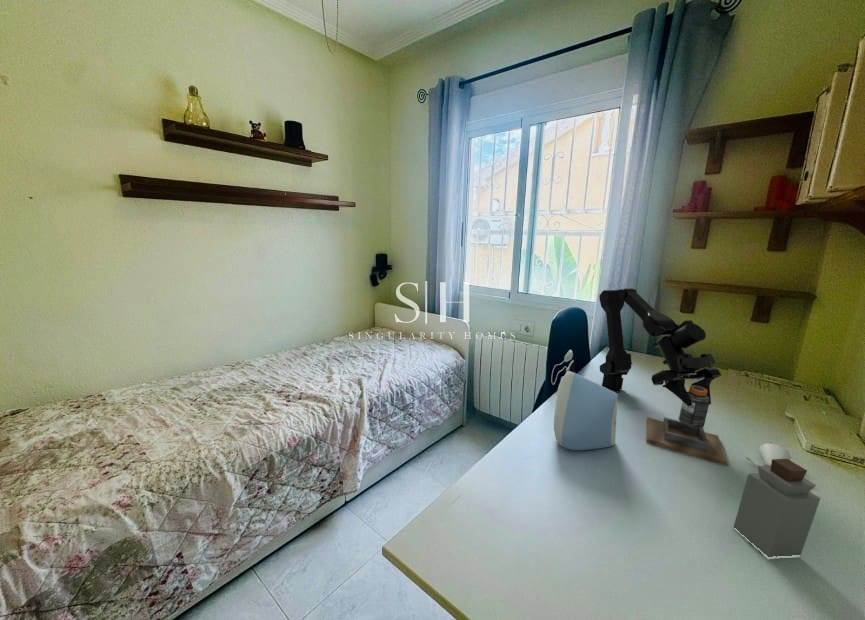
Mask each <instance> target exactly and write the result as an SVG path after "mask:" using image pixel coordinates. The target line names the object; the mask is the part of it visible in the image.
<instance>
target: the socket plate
mask: <svg viewBox="0 0 865 620" xmlns="http://www.w3.org/2000/svg"><path fill="white" fill-rule="evenodd" d="M645 422H646V443H647V444H650V445H653V446H658V447H660V448H663V449H668V450H671V451H673V452H674V451H675V452H678V453H681V454H685V455H688V456H691V457H694V458H699V459H702V460H704V461H705V460H706V461H709V462H710V463H711V462H712V463H714V464H715V463H716V464H719V465H722V466H725V467H727V466H728V460H727V457H726V454H725V451H724V449H723V446H722V443H721V442H722V441H720V437H719V435H718V434H717V435H716V434H714V433H713V434H712V433H710V432H705V429H704V427H703V428H693V427H689V426H687V425H685V424H683V423H681V422H680V420H677V419H676V420H675V419H673V418H668V417H663V420H659V419H656V418H653V417H648V416H646V421H645Z"/></svg>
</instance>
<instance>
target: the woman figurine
mask: <svg viewBox="0 0 865 620" xmlns="http://www.w3.org/2000/svg"><path fill="white" fill-rule="evenodd" d="M758 447H759V454H760V457H761V459H762V461H763V463H764V464H765V465H771V463H772V459H789V460H790V461H791V459H792V456H791V454H790V451H789V450H787V449H786V448H785V447H784V446H783V445H778V444H774V443H773V442H771V441H769V442H767V443H763V444H761V445H760V446H758ZM743 456H744V457H745V459H746V460H747V461H750V462H751V463H752V464H753V465H754V466H755V467H757V468H758V466H760V464H759V463H756V462H755V461H754V460H752V459H751V457H750V455H746V454H744V455H743ZM765 465H764V466H765ZM804 478H805V479H808V476H804Z"/></svg>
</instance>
